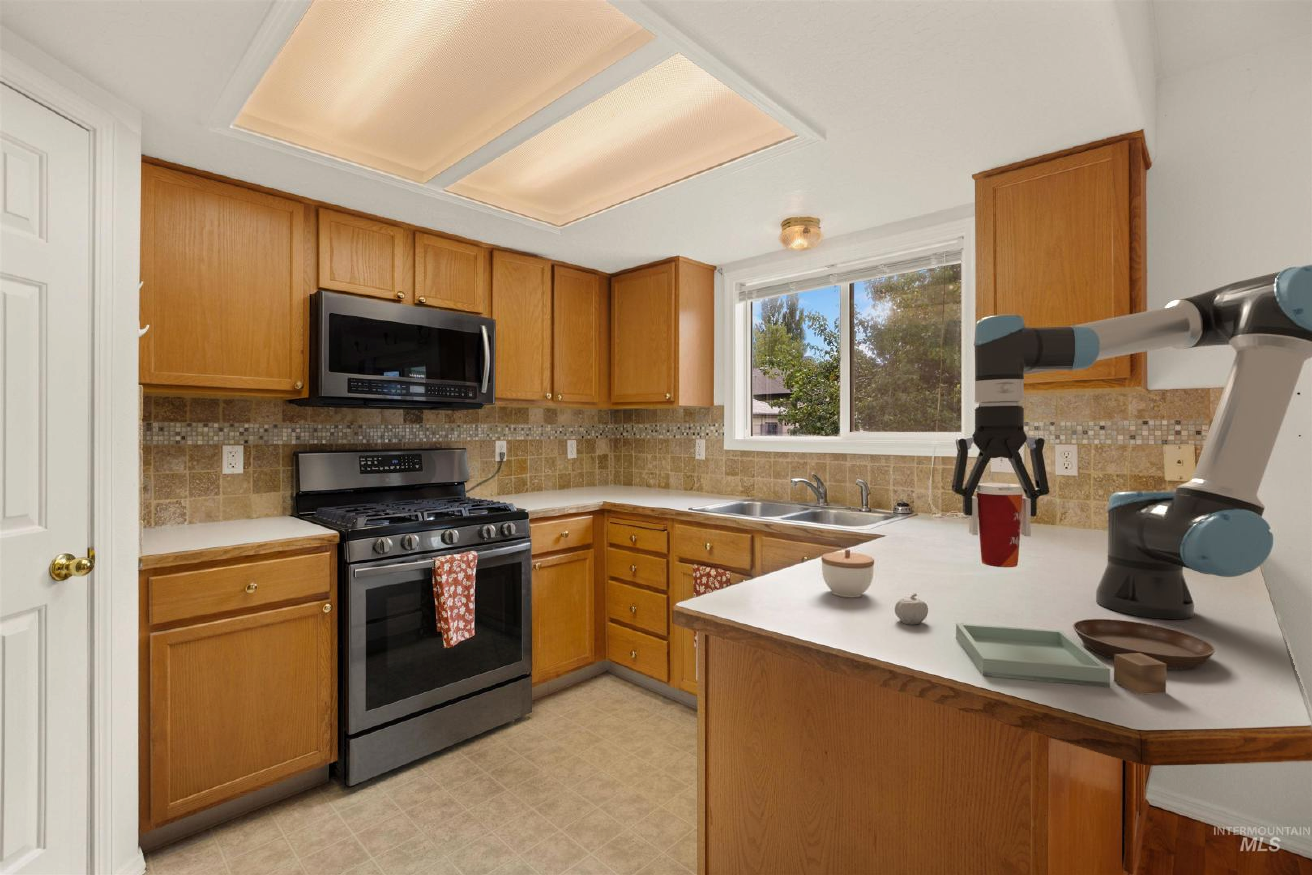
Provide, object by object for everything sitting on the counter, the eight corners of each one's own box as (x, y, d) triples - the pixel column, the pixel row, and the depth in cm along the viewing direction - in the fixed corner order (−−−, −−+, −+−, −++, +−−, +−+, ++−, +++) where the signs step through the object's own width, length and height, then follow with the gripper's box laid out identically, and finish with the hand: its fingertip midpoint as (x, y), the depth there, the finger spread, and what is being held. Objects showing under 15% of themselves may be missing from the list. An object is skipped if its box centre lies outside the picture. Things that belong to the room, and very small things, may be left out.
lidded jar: (879, 591, 133) (879, 548, 133) (866, 603, 124) (867, 557, 124) (829, 584, 139) (830, 542, 139) (814, 595, 130) (814, 551, 130)
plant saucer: (1089, 627, 111) (1090, 610, 111) (1222, 655, 98) (1223, 636, 97) (1058, 651, 99) (1058, 632, 99) (1204, 687, 86) (1205, 665, 86)
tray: (1062, 645, 101) (1062, 630, 101) (1109, 686, 85) (1110, 668, 85) (955, 637, 105) (956, 623, 104) (982, 675, 89) (983, 658, 89)
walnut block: (1139, 680, 88) (1139, 652, 87) (1165, 693, 84) (1166, 663, 84) (1113, 682, 87) (1114, 654, 87) (1139, 694, 83) (1140, 665, 83)
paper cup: (1031, 569, 105) (1031, 487, 104) (982, 568, 106) (982, 486, 106) (1014, 559, 112) (1014, 482, 112) (969, 558, 114) (968, 482, 113)
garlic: (914, 616, 116) (914, 589, 116) (935, 625, 111) (935, 596, 111) (887, 619, 114) (887, 591, 114) (907, 628, 109) (908, 599, 109)
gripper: (940, 405, 107) (941, 536, 108) (1074, 403, 102) (1073, 540, 103) (931, 406, 115) (932, 529, 115) (1055, 404, 110) (1055, 532, 110)
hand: (999, 534), depth 109 cm, fingers closed on paper cup, 8 cm apart
